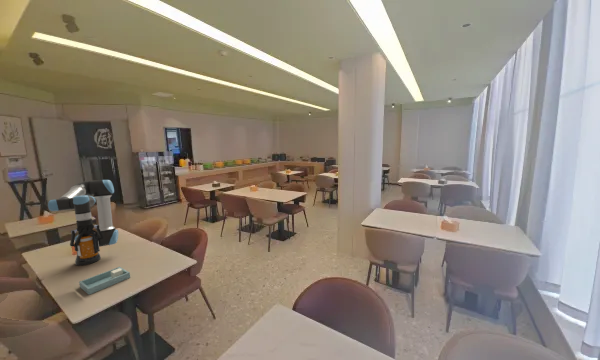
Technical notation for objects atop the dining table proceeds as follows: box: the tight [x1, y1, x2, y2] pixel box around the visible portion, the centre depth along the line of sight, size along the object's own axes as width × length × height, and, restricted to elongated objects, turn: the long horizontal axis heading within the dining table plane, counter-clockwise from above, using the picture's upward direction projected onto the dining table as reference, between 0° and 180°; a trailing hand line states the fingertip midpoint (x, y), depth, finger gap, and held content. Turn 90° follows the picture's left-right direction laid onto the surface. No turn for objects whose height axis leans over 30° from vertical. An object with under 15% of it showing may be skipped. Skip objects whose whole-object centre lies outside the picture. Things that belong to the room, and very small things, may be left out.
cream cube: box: [111, 268, 123, 279], centre depth 159 cm, size 5×5×5 cm
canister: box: [77, 229, 100, 261], centre depth 153 cm, size 9×11×20 cm
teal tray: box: [78, 266, 131, 296], centre depth 154 cm, size 16×22×4 cm
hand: (89, 252), depth 153 cm, fingers closed on canister, 9 cm apart
